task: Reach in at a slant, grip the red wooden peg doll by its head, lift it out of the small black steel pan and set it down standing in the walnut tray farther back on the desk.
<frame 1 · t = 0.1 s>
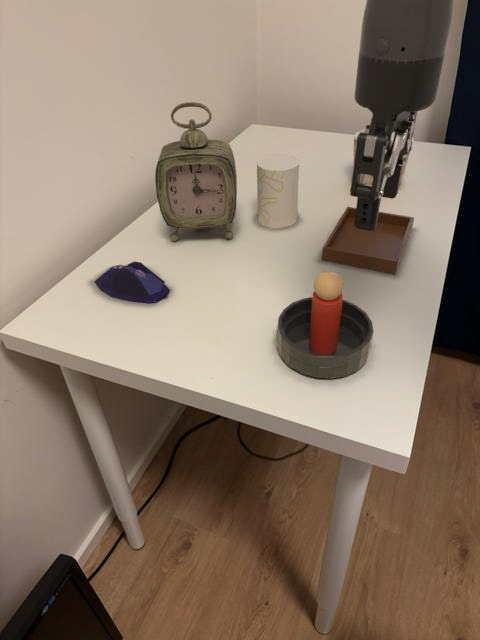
hand: (376, 211, 54), 23 cm above the table, tool pointing down, fingers open, 8 cm apart
computer mouse: (135, 286, 84), on the table
planter: (376, 183, 113), on the table
tray: (368, 243, 92), on the table
pan: (322, 348, 70), on the table
tabletop clock: (203, 234, 98), on the table
doll: (322, 345, 70), resting on pan
white cylinder: (277, 219, 101), on the table
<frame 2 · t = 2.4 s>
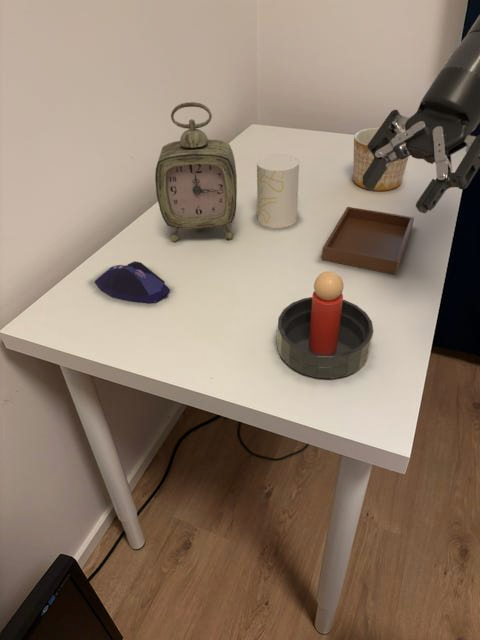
hand: (392, 198, 62), 20 cm above the table, tool tilted 45°, fingers open, 8 cm apart
nothing on the table moved.
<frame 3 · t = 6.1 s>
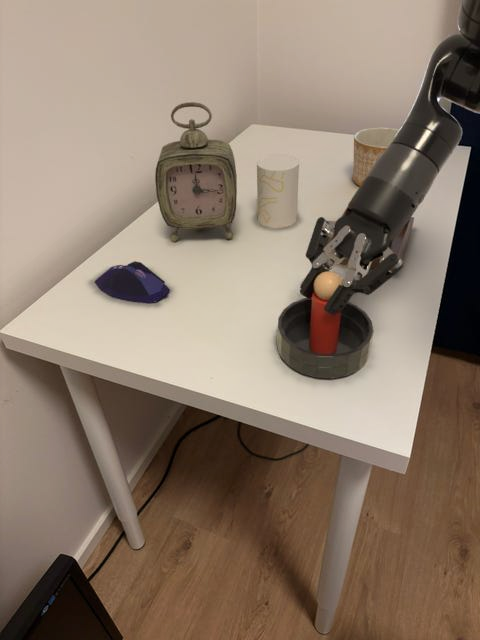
hand: (316, 303, 63), 9 cm above the table, tool tilted 45°, fingers closed on doll, 4 cm apart
doll: (323, 345, 70), point 1 cm above the table, touching gripper, pan
everything else where it was.
when the fingers open (9 cm above the table, at t = 15.1 s): doll stays where it is, resting on tray.
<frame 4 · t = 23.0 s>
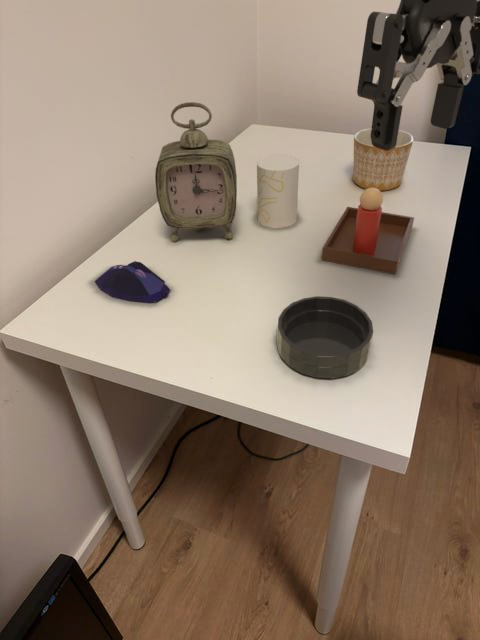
hand: (413, 136, 45), 32 cm above the table, tool pointing down, fingers open, 8 cm apart
doll: (363, 252, 88), point 1 cm above the table, touching tray
everything else where it was.
at the end: doll inside the target area in the tray (4.4 cm from its centre), point 0.6 cm above the tray's base; doll touching tray; doll tilted 0° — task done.
